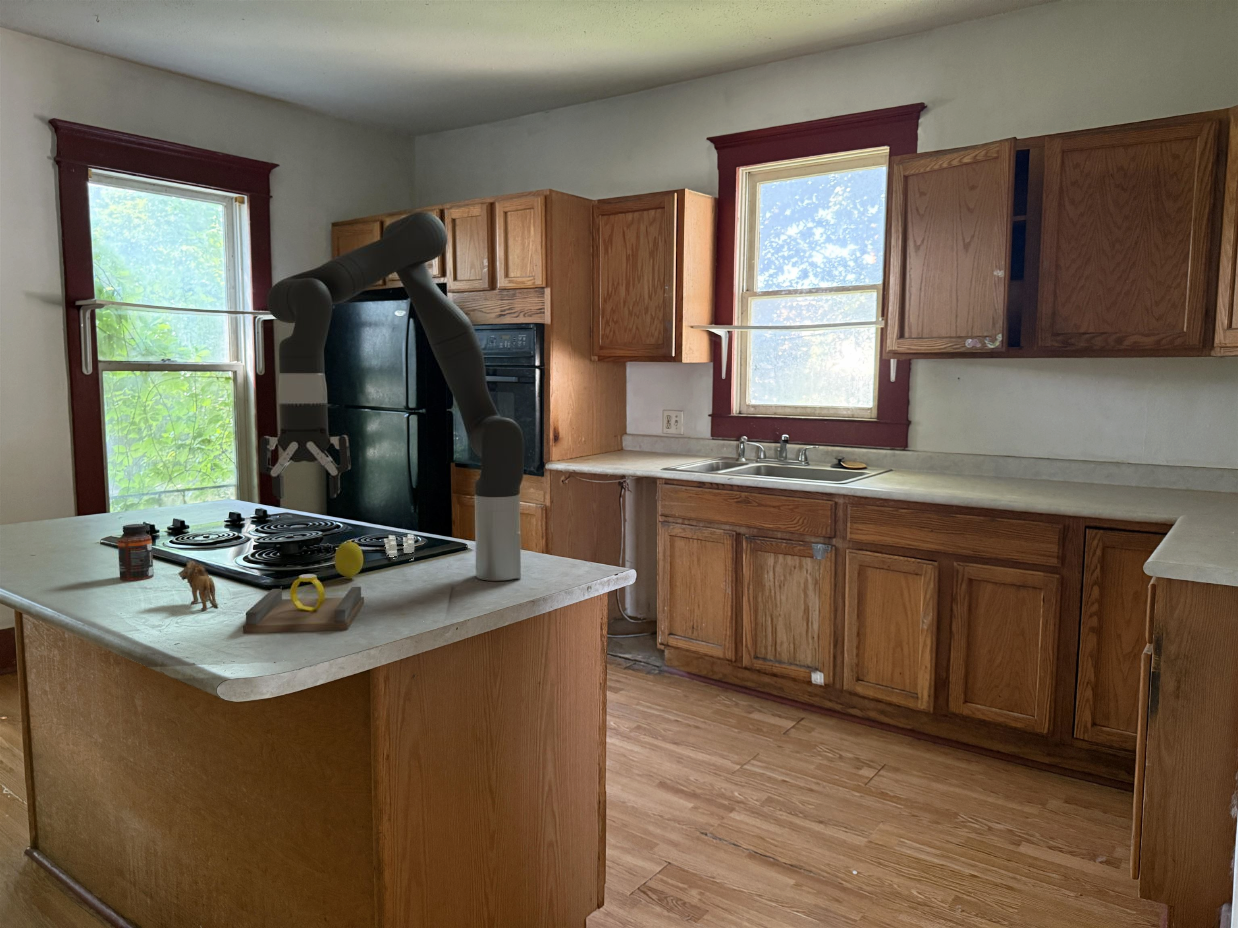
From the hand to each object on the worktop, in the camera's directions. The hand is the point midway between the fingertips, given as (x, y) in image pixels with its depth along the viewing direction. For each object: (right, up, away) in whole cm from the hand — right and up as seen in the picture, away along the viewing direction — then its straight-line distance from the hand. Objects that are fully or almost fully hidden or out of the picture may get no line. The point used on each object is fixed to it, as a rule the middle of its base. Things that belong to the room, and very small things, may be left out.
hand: (306, 497), depth 142 cm
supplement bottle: (-45, -18, +28) cm, 56 cm away
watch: (0, -19, +1) cm, 19 cm away
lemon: (-2, -18, +30) cm, 35 cm away
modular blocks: (+2, -16, +55) cm, 57 cm away
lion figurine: (-22, -20, +9) cm, 31 cm away
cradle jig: (0, -20, +1) cm, 20 cm away
